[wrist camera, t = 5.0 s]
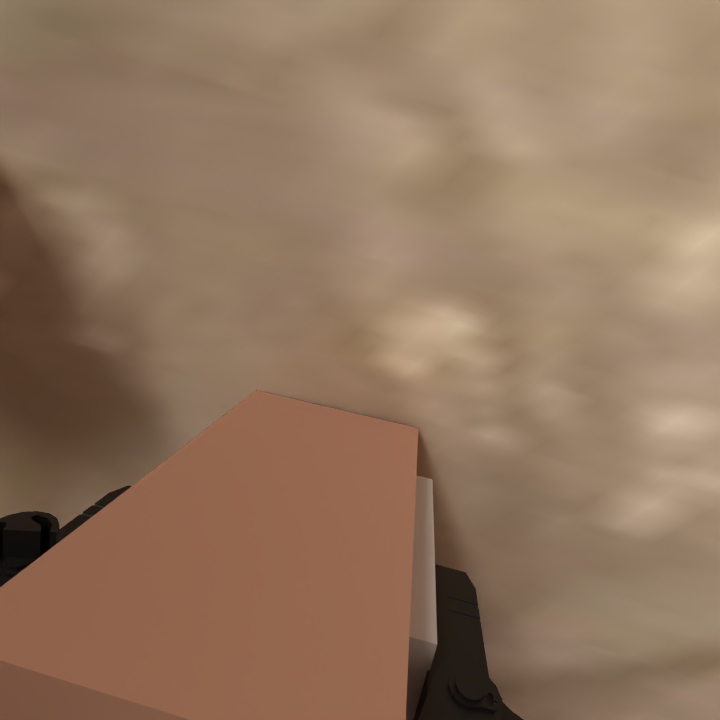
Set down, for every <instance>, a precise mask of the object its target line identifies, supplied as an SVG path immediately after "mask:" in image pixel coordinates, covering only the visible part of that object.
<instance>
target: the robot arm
mask: <svg viewBox="0 0 720 720" xmlns="http://www.w3.org/2000/svg"><path fill="white" fill-rule="evenodd" d="M130 487H131V486H126V487H123V488H121V489H118V490H115V491H113V492H110V493H108V494H107V495H106V496H104V497H103V498H102V499H100V500H99V501H98V502H96V503H95V505H94V506H91V507H89V508H88V509H87V510H85V511H84V512H83V514H82V515H81V514H80V515H79V516H77V517H76V518H74V519H73V520H72V521H70V522H69V523H68V524H66V525H65V526H64V527H62V528H61V529H59V522H58V520H57V518H56V517H54V516H53V515H51V514H49V513H44V512H39V511H34V512H21V513H16V514H12V515H8V516H5V517H3V518H1V519H0V587H1V586H3V585H4V584H5V583H7V582H8V581H9V580H10V579H12V578H13V577H14V576H16V575H17V574H18V573H20V572H21V571H22V570H23V569H25V568H26V567H27V566H29V565H30V564H31V563H33V562H34V561H35V560H37V559H38V558H39V557H40V556H42V555H43V554H44V553H46V552H47V551H48V550H50V549H51V548H52V547H53V546H55V545H56V544H57V543H59V542H60V541H61V540H63V539H64V538H65V537H66V536H68V535H69V534H70V533H72V532H73V531H74V530H76V529H77V528H78V527H79V526H81V525H82V524H83V523H85V522H86V521H87V520H89V519H90V518H91V517H92V516H94V515H95V514H96V513H98V512H99V511H100V510H102V509H103V508H104V507H105V506H107V505H108V504H109V503H111V502H112V501H113V500H115V499H116V498H117V497H118V496H120V495H121V494H122V493H124V492H125V491H126V490H128V489H129V488H130ZM406 720H523V719H522V718H520V717H519V716H517V715H516V714H515V713H513V712H512V711H511V710H510V709H509V708H508V707H507V706H506V705H505V704H504V703H503V702H502V698H501V696H500V694H499V691H498V689H497V687H496V685H495V684H494V683H493V682H492V681H491V679H490V678H489V675H488V669H487V662H486V656H485V649H484V642H483V636H482V629H481V622H480V616H479V609H478V602H477V596H476V589H475V587H474V585H473V584H472V582H471V581H470V579H469V577H468V576H467V574H466V573H465V572H462V571H458V570H454V569H450V568H446V567H443V566H439V565H435V548H434V513H433V479H429V478H425V477H421V476H417V475H416V496H415V518H414V541H413V564H412V586H411V609H410V632H409V654H408V677H407V700H406Z"/></svg>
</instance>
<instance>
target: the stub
mask: <svg viewBox="0 0 720 720" xmlns="http://www.w3.org/2000/svg"><path fill="white" fill-rule="evenodd" d="M417 451H418V428H416V427H411V426H407V425H403V424H398V423H394V422H390V421H386V420H381V419H377V418H373V417H368V416H364V415H360V414H355V413H351V412H347V411H343V410H338V409H334V408H330V407H325V406H321V405H317V404H312V403H308V402H304V401H300V400H295V399H291V398H287V397H282V396H278V395H274V394H269V393H265V392H261V391H257V390H256V391H255V392H254V393H252V394H251V395H250V396H249V397H247V398H246V399H245V400H243V401H242V402H241V403H239V404H238V405H237V406H236V407H234V408H233V409H232V410H230V411H229V412H228V413H226V414H225V415H224V416H223V417H221V418H220V419H219V420H217V421H216V422H215V423H213V424H212V425H211V426H210V427H208V428H207V429H206V430H204V431H203V432H202V433H200V434H199V435H198V436H197V437H195V438H194V439H193V440H191V441H190V442H189V443H187V444H186V445H185V446H184V447H182V448H181V449H180V450H178V451H177V452H176V453H174V454H173V455H172V456H171V457H169V458H168V459H167V460H165V461H164V462H163V463H161V464H160V465H159V466H158V467H156V468H155V469H154V470H152V471H151V472H150V473H148V474H147V475H146V476H144V477H143V478H142V479H141V480H139V481H138V482H137V483H135V484H134V485H133V486H131V487H130V488H129V489H128V490H126V491H125V492H124V493H122V494H121V495H120V496H118V497H117V498H116V499H115V500H113V501H112V502H111V503H109V504H108V505H107V506H105V507H104V508H103V509H102V510H100V511H99V512H98V513H96V514H95V515H94V516H92V517H91V518H90V519H89V520H87V521H86V522H85V523H83V524H82V525H81V526H79V527H78V528H77V529H76V530H74V531H73V532H72V533H70V534H69V535H68V536H66V537H65V538H64V539H63V540H61V541H60V542H59V543H57V544H56V545H55V546H53V547H52V548H51V549H50V550H48V551H47V552H46V553H44V554H43V555H42V556H40V557H39V558H38V559H37V560H35V561H34V562H33V563H31V564H30V565H29V566H27V567H26V568H25V569H23V570H22V571H21V572H20V573H18V574H17V575H16V576H14V577H13V578H12V579H10V580H9V581H8V582H7V583H5V584H4V585H3V586H1V587H0V720H406V700H407V677H408V654H409V632H410V609H411V586H412V564H413V541H414V518H415V496H416V473H417Z"/></svg>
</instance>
